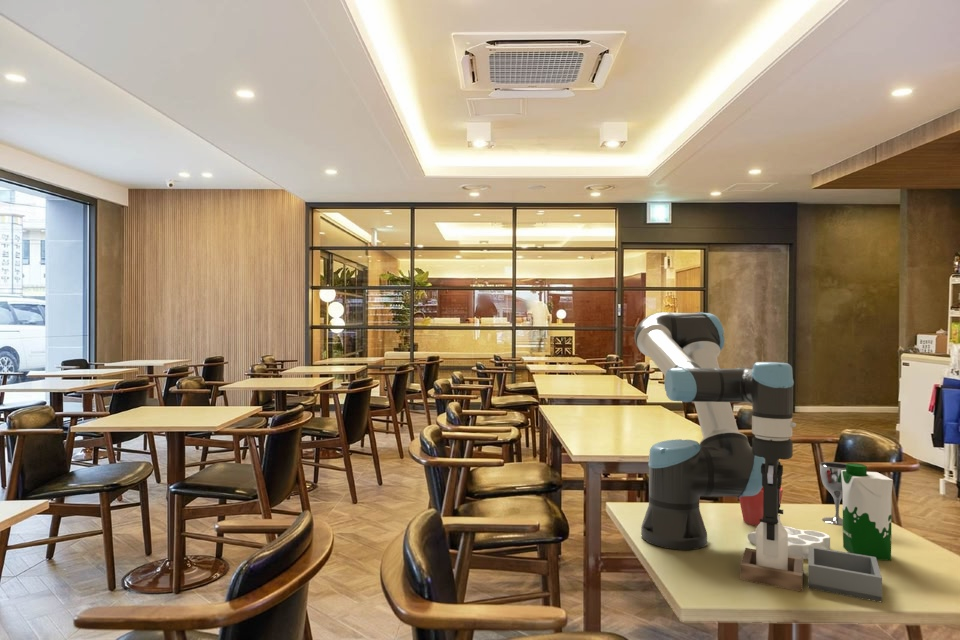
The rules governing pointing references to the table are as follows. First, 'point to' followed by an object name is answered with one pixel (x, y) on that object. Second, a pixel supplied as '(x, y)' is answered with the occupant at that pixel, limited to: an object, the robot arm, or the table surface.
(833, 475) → the wine glass
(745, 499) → the flower pot
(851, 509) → the milk carton
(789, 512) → the table surface
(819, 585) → the tray
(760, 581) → the holder
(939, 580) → the table surface
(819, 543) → the white brass knuckles
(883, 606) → the table surface
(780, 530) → the white tall rounded piece
